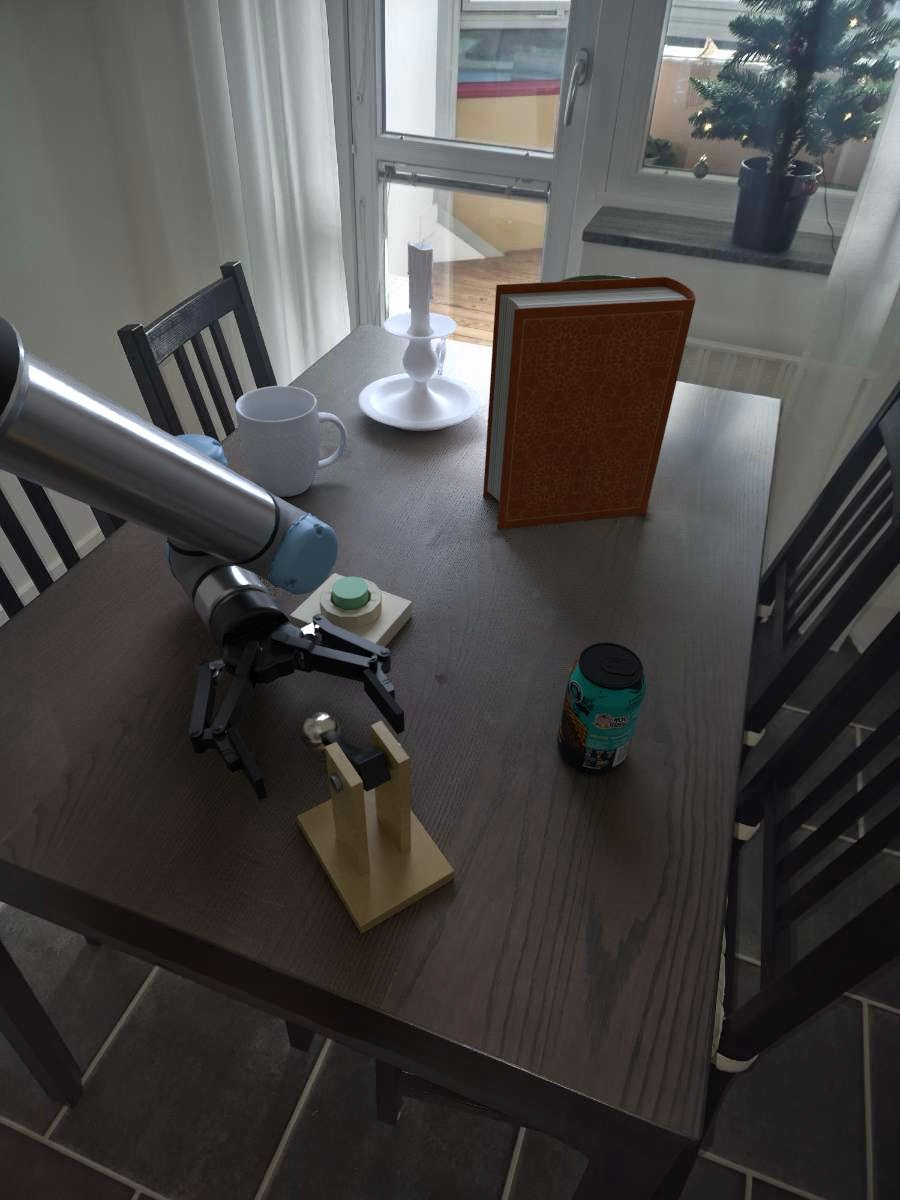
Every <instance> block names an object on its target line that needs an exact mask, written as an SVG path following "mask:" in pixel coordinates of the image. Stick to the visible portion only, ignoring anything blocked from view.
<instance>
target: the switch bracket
mask: <svg viewBox="0 0 900 1200" xmlns="http://www.w3.org/2000/svg"><path fill="white" fill-rule="evenodd" d="M370 736H371V745H373V746H374V747H376V748H377V749H379V750H380V751H382V752H383V753H384V756H385V760H386V763H387V766H388V769H389V772H390V776H391V780H389V781H387V782H386V783H384V784H382V785H380V786H378V787H376V788H374V789H372V790H370V791H368V792H366V791H365V790H364V789H363V781H362V779H361V778H360V776H359V775H358V774H357V772H356V771H355V769H354V768H353V766H352V765H351V763H350V762H349V760H348V759H347V757H346V756H345V754H344V753H343V751H342V750H341V748H340V747H339V745H338V744H337V742H334V743H332V744H330V745H328V746H326V747H325V760H326V768H327V776H328V783H329V784H328V785H329V791H330V792H329V793H330V799H328V800H326V801H324V802H322V803H320V804H318V805H316V806H314V807H312V808H310V809H308V810H306V811H304V812H302V813H299V814H298V815H297V816H296V819H297V825H298V827H299V828H300V830H301V832H302V833H303V836H304V837H305V839H306V841H307V843H308V844H309V846H310V848H311V849H312V851H313V853H314V855H315V857H316V858H317V860H318V861H319V863H320V865H321V867H322V868H323V870H324V873H325V874H326V876H327V877H328V878H329V881H330V883H331V884H332V886H333V888H334V890H335V891H336V893H337V895H338V896H339V898H340V900H341V902H342V903H343V905H344V908H345V909H346V911H347V912H348V914H349V916H350V918H351V919H352V921H353V923H354V924H355V926H356V928H357V930H358V931H359V933H360V935H362V934H364V933H366V932H367V931H369V930H371V929H372V928H374V927H375V926H377V925H379V924H381V923H383V922H384V921H385V920H387V919H389V918H391V917H393V916H394V915H396V914H398V913H399V912H401V911H402V910H405V909H406V908H407V907H409V906H411V905H412V904H415V903H416V902H418V901H419V900H421V899H423V898H425V897H426V896H427V895H430V893H432V892H435V891H436V890H437V889H439V888H441V887H442V886H444V885H446V884H447V883H449V882H451V881H453V880H454V879H455V870H454V868H453V866H452V865H451V864H450V863H449V861H448V860H447V858H446V857H445V856H444V854H443V852H442V851H441V850H440V848H439V846H437V844H436V843H435V841H434V840H433V839H432V837H431V835H430V834H429V833H428V831H427V830H426V829H425V827H424V826H423V825H422V822H420V820H419V818H417V816H416V814H415V813H414V811H413V810H412V808H411V759H410V756H409V755H408V754H407V753H406V751H405V749H404V747H403V745H402V744H401V743H400V742H398V741H397V739H396V738H395V736H394V735H393V733H391V731H390V730H389V728H388V727H387V726H386V725H385V723H384V722H383V720H379V721H378V722H375V723H373V724H371V725H370Z"/></svg>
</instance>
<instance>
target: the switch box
mask: <svg viewBox="0 0 900 1200" xmlns="http://www.w3.org/2000/svg"><path fill="white" fill-rule="evenodd" d="M344 577H345V575H341V574H339V573H336V572H334V573H332V574H331V575H329V576H328V577H327V579H326V580H325V581H324V582H323V583H322V584H321V585H320V586H319V587H318V588H316V589H315V590H314V591H313V592H312V593H311V594H310V595H309V596H308V597H307V598H305V600H304V601H303V602H302V603H300V605H298V607H297V608H296V609H294V611H292V612H291V613H290V614H289V620H290V622H291V623H292V624H293V625H294V626H296V627H299V628H303V627H305V626H307V625H309V624H311V623H313V616H314V615H317V614H321V615H323V616H324V617H325V618H326V619H327V620H328V621H329V622H330V623H331V624H333V625H335V626H338V627H340V628H342V629H344V630H347V631H349V632H351V633H353V634H356V635H358V636H360V637H362V638H365V639H367V640H369V641H371V642H374V643H376V644H378V645H380V646H383V647H385V648H386V647H387V646H388V644H389V643H390V642H391V641H392V640H393V638H394V637H395V636H397V634H398V632H400V630H401V629H402V628H403V627H404V626H405V625H406V623H407V622H408V621H409V620H410V619H411V618H412V616H413V601H411V600H408V599H406V598H403V597H400V596H399V595H395V594H392V593H389V592H387V591H384V590H382V589H380V588H379V587H378V586H377V585H376V583H375V582H373V581H371V580H368V579H366V578H363V577H360V578H361V579H363V580H364V581H365V582H366V583H367V585H368V602H367V603H366V605H365V606H363V607H361V608H359V609H356V610H343V609H341V608H338V607H337V606H336V605H335V604H334V601H333V592H332V587H333V584H334V583H335V582H336V581H337V580H339V579H341V578H344Z"/></svg>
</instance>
